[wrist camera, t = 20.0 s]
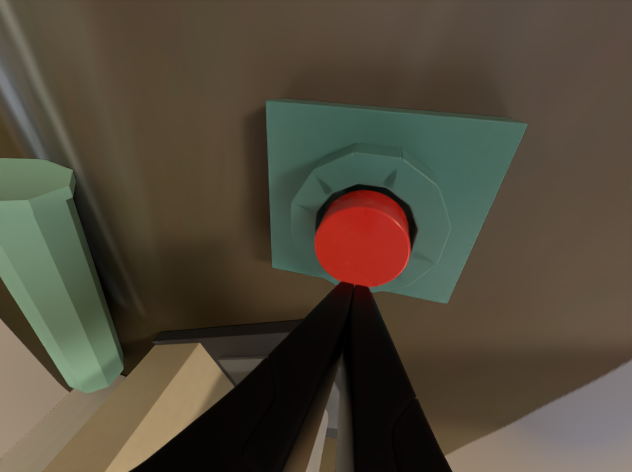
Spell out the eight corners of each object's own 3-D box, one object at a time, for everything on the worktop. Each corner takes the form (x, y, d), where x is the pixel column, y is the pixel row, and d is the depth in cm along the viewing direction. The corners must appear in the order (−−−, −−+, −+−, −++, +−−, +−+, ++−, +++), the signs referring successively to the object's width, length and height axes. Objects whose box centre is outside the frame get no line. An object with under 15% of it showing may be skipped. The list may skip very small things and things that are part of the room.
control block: (511, 117, 11) (555, 132, 8) (442, 283, 15) (454, 331, 12) (279, 97, 12) (244, 103, 9) (281, 252, 17) (259, 287, 14)
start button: (418, 196, 10) (422, 216, 8) (397, 269, 12) (398, 296, 10) (326, 183, 11) (316, 199, 9) (320, 254, 12) (311, 277, 11)
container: (79, 417, 27) (-58, 214, 13) (56, 376, 29) (-83, 164, 15) (142, 375, 31) (91, 188, 17) (117, 342, 33) (55, 153, 19)
